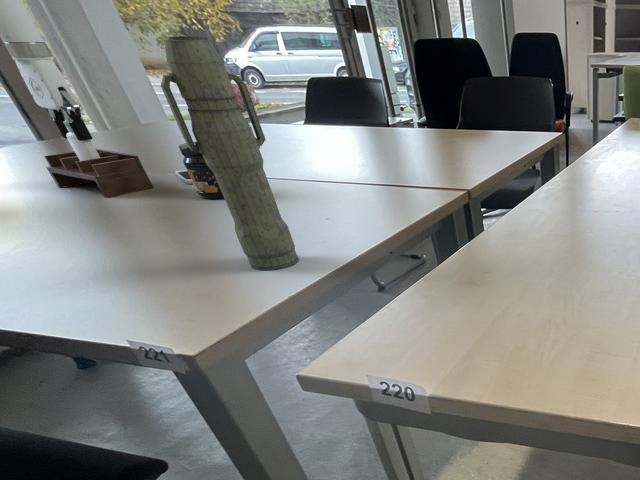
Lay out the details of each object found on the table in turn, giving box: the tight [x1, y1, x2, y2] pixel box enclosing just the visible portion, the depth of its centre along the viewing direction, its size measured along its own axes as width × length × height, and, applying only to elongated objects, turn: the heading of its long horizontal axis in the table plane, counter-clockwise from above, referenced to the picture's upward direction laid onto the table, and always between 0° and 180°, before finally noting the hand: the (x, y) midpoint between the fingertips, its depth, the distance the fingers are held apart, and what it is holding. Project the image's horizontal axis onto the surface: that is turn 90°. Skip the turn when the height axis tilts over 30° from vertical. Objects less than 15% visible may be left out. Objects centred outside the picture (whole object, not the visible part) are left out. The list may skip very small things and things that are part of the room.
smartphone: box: [174, 169, 193, 185], centre depth 151 cm, size 7×16×1 cm, turn 43°
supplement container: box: [178, 141, 224, 200], centre depth 134 cm, size 10×10×12 cm
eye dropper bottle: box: [63, 115, 100, 161], centre depth 134 cm, size 4×6×12 cm
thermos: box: [160, 35, 300, 271], centre depth 90 cm, size 9×12×35 cm
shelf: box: [44, 148, 154, 198], centre depth 138 cm, size 12×22×8 cm, turn 65°
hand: (78, 138), depth 133 cm, fingers closed on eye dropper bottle, 5 cm apart
